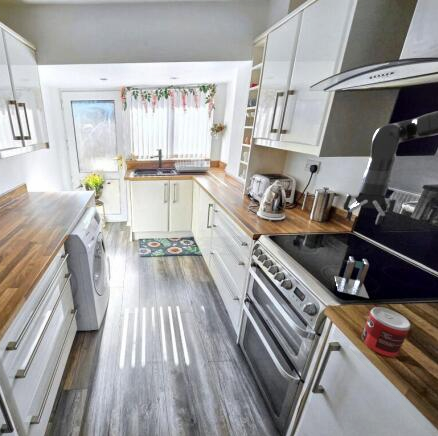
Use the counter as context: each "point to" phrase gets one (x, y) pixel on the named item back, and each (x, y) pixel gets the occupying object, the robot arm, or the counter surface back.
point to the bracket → (353, 285)
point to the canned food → (385, 331)
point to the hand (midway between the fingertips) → (362, 222)
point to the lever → (356, 265)
